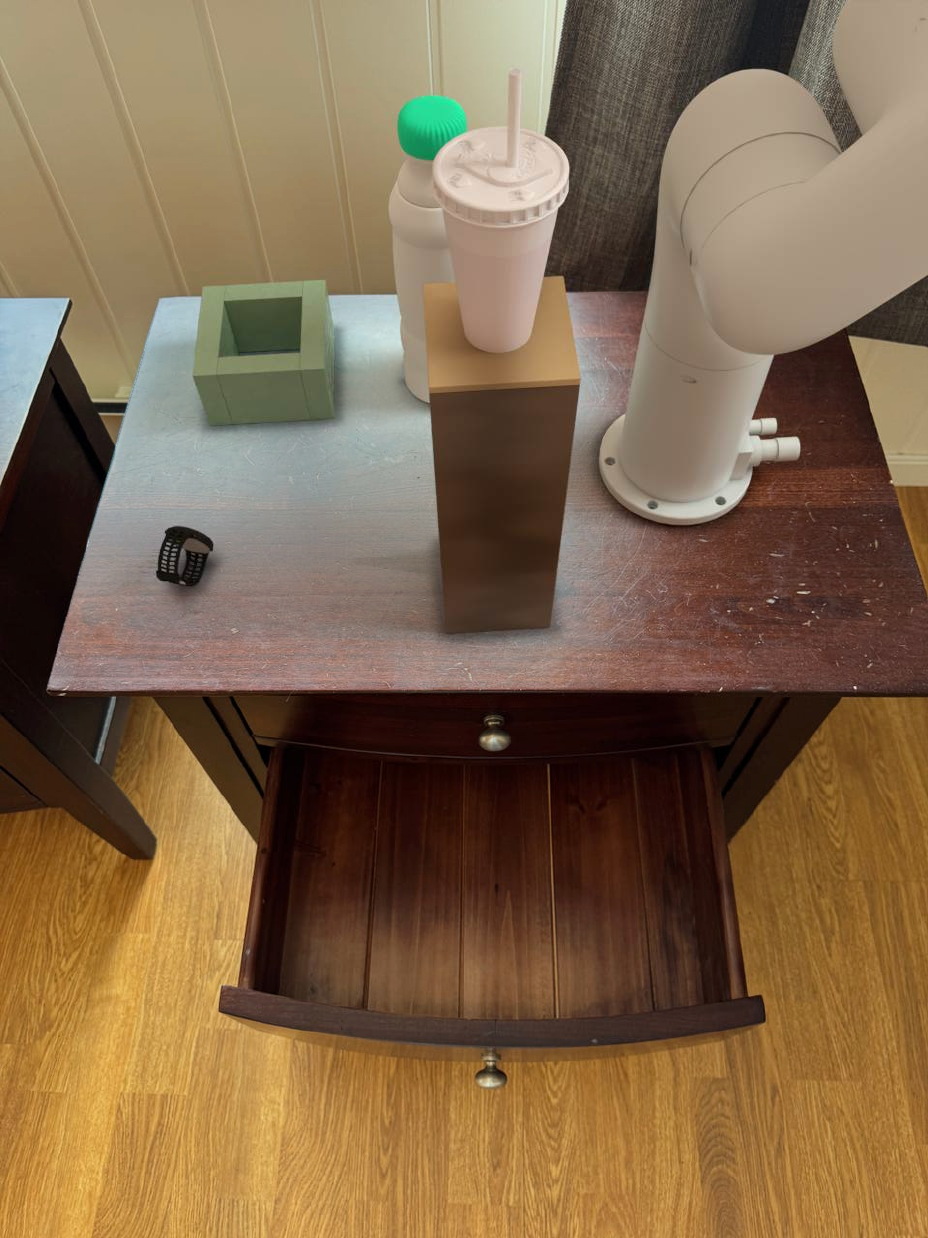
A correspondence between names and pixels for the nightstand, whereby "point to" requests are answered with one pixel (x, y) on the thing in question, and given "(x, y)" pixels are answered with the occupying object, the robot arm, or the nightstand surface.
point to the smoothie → (500, 222)
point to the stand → (273, 379)
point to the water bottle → (420, 224)
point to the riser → (500, 461)
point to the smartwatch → (191, 544)
